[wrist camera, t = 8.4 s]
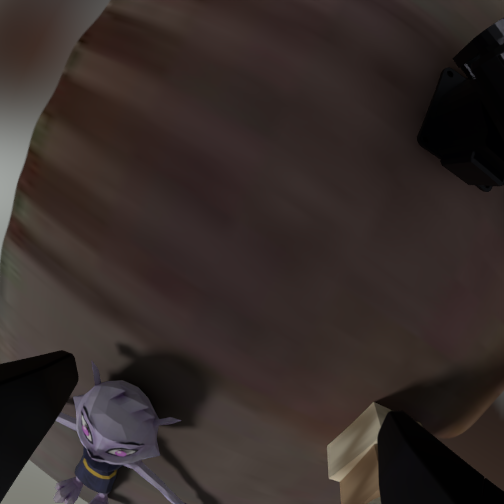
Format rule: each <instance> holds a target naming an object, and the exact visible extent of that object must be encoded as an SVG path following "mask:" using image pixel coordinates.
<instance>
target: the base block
mask: <svg viewBox="0 0 504 504" xmlns="http://www.w3.org/2000/svg"><path fill="white" fill-rule="evenodd" d="M389 411H392V410H390V409H388V408H386V407H383V406H381V405H379V404H377V403H375V402H373V403H372V404H371V405H370V406H369V407H368V408H367V409H366V410H365V411H364V412H363V413H362V414H361V415H360V416H359V417H358V418H357V419H356V420H355V421H354V422H353V423H352V424H351V425H350V426H349V427H348V428H346V429H345V430H344V431H343V432H342V433H341V434H340V435H339V436H338V437H337V438H335V439H334V440H333V441H332V442H331V443H330V444H329V445H328V446H327V452H328V471H329V479H332V480H335V481H339V482H340V481H341V480H342V479H343V478H344V477H345V476H346V475H347V474H348V473H349V472H350V471H351V470H352V469H353V467H354V466H355V465H356V464H357V463H358V462H359V461H360V460H361V459H362V458H363V456H364V455H365V454H366V453H367V452H368V451H369V450H370V448H371V447H372V446H373V445H374V444H376V445H377V437H378V432H379V430H380V428H381V426H382V424H383V421H384V419H385V417H386V415H387V413H388V412H389ZM416 422H417V421H416ZM417 423H418V424H420V425H421V423H419V422H417ZM421 426H422V425H421Z"/></svg>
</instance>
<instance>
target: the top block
mask: <svg viewBox="0 0 504 504" xmlns="http://www.w3.org/2000/svg"><path fill="white" fill-rule="evenodd" d="M340 493H341V504H368V503H369V502H371V501H372V500H374V499H376V498H378V497H380V491H379V478H378V445H376V444H374V445H373V446H372V447H371V448H370V450H369V451H368V452H367V453H366V454H365V455H364V456H363V458H362V459H361V460H360V461H359V462H358V463H357V464H356V465H355V466H354V467H353V469H352V470H351V471H350V472H349V473H348V474H347V475H346V476H345V477H344V478H343V479H342V480H341V481H340Z"/></svg>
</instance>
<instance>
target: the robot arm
mask: <svg viewBox="0 0 504 504" xmlns="http://www.w3.org/2000/svg"><path fill="white" fill-rule="evenodd" d="M453 60H454V62H455V63H456V64H457V66H458V67H461V69H462V70H463V71H464V73H465V74H466V76H467V77H468V79H465V78H464V77H463V76H461V75H460V74H459V73H457V72H456V71H454V70H453V69H452V68H449V67H447V68H445V69H444V70H443V71H442V73H441V76H440V79H439V82H438V85H437V87H436V90H435V93H434V96H433V98H432V101H431V104H430V106H429V109H428V111H427V114H426V116H425V119H424V121H423V124H422V126H421V129H420V131H419V134H418V137H417V141H418V143H419V145H420V146H421V147H423V148H424V149H426V150H427V151H429V152H430V153H432V154H433V155H435V156H436V157H438V158H439V159H441V160H440V162H441V164H442V166H444V167H445V168H446V169H448V170H449V171H451V172H452V173H453V174H455V175H456V176H457V177H459V178H460V179H461V180H463V181H464V182H465V183H467V184H468V185H475V186H477V187H478V188H479V189H480V190H482V191H484V192H489V191H490V190H491V189H492V186H502V185H504V18H502V19H501V20H499V21H498V22H496V23H495V24H493V25H492V26H490V27H489V28H487V29H486V30H484V31H483V32H482V33H480V34H479V35H478V36H476V37H475V38H474V39H473V40H472V41H471V42H470V43H468V44H467V45H466V46H465V47H464V48H463V49H462V50H461V51H460V52H459V53H458V54H457V55H456V56H455V57H454V58H453ZM447 72H448V73H449V74H450V75H451V77H449V76H448V74H447ZM423 136H425V137H426V138H427V143H425V142H424V141H423ZM485 186H486V187H485ZM77 382H78V371H77V367H76V362H75V357H74V356H73V354H71V353H69V352H66V351H63V350H61V351H56V352H52V353H48V354H44V355H39V356H35V357H30V358H26V359H21V360H17V361H12V362H7V363H3V364H0V503H1V501H2V500H3V498H4V496H5V495H6V493H7V492H8V490H9V489H10V487H11V486H12V484H13V482H14V481H15V479H16V478H17V476H18V475H19V473H20V471H21V470H22V469H23V467H24V465H25V464H26V463H27V461H28V460H29V458H30V457H31V455H32V454H33V452H34V451H35V449H36V448H37V446H38V445H39V444H40V442H41V441H42V439H43V438H44V436H45V435H46V434H47V432H48V431H49V429H50V428H51V426H52V425H53V424H54V422H55V421H56V419H57V418H58V416H59V414H60V413H61V411H62V409H63V407H64V405H65V404H66V402H67V400H68V398H69V397H70V395H71V393H72V391H73V390H74V388H75V386H76V385H77ZM377 445H378V478H379V491H380V499H381V504H504V491H503V490H501V489H500V488H498V487H497V486H496V485H494V484H493V483H492V482H491V481H489V480H488V479H487V478H485V479H484V476H483V475H482V474H480V473H479V472H478V471H476V470H475V469H474V468H473V467H471V466H470V465H469V464H468V463H466V462H465V461H464V460H463V459H461V458H460V457H459V456H458V455H456V454H455V453H454V452H453V451H452V450H450V449H449V448H448V447H447V446H445V445H444V444H443V443H442V442H440V441H439V440H438V439H437V438H436V437H434V436H433V435H432V434H431V433H429V432H428V431H427V430H426V429H425V428H423V427H422V426H421V425H420V424H418V423H417V422H416V421H415V420H414V419H412V418H411V417H410V416H409V415H408V414H406V413H405V412H404V411H389V412H388V413H387V415H386V417H385V419H384V421H383V424H382V426H381V428H380V430H379V432H378V437H377Z"/></svg>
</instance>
